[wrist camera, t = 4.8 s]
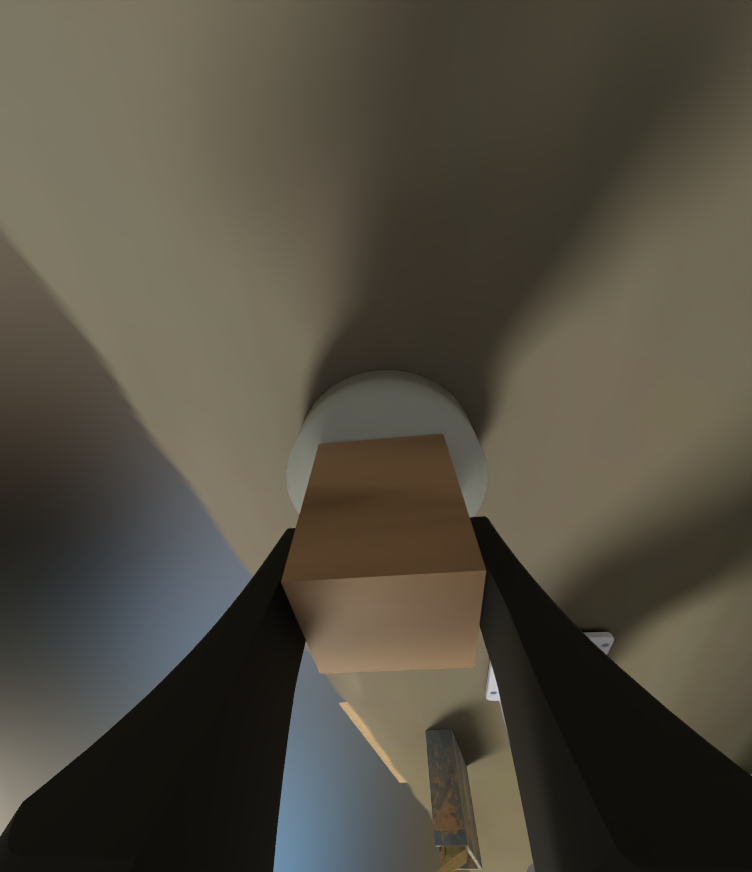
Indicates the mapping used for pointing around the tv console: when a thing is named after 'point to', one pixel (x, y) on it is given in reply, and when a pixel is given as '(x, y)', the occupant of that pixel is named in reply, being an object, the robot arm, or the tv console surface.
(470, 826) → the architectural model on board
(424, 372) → the tv console surface
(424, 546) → the walnut block
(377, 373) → the pale grey round disc
